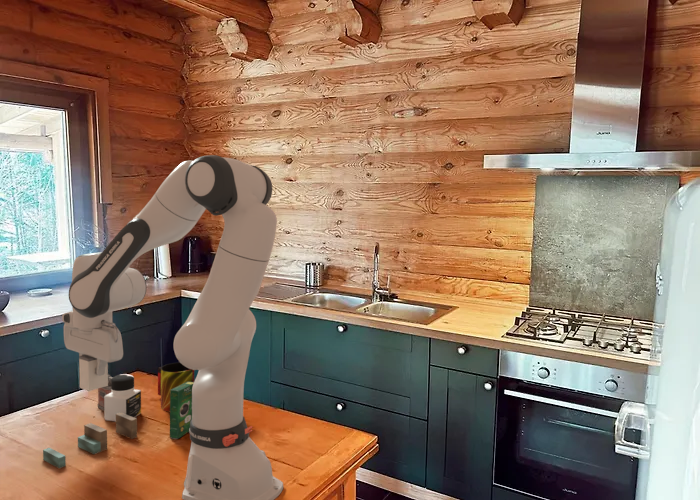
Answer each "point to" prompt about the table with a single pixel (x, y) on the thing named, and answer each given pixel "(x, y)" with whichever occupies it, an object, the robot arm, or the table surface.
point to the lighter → (104, 393)
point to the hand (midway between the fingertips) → (93, 372)
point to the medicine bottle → (122, 398)
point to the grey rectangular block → (91, 374)
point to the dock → (94, 439)
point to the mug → (172, 381)
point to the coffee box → (180, 410)
